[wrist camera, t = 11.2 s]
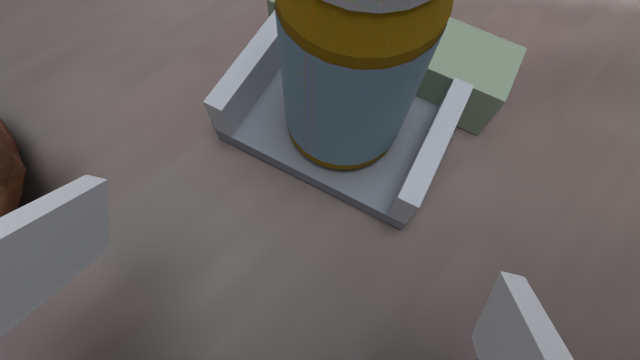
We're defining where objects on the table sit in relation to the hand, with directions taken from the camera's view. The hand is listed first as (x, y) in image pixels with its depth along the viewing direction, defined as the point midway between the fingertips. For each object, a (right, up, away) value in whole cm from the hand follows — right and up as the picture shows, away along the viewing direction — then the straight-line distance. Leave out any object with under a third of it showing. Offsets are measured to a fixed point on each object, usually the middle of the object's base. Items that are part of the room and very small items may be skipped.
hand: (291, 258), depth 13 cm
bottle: (+2, +6, +12) cm, 14 cm away
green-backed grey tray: (+3, +7, +13) cm, 15 cm away
